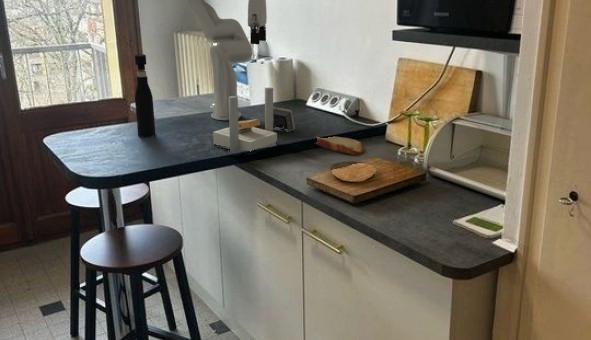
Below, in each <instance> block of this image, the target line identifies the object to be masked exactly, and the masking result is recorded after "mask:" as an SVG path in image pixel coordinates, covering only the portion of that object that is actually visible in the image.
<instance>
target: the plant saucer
mask: <svg viewBox="0 0 591 340" xmlns="http://www.w3.org/2000/svg"><path fill="white" fill-rule="evenodd" d="M357 163H364V162H362V161H353V160H352V161H349V160H348V161H347V160H346V161H338V162H335V163H333V164H331V165H330V166H329V168H328V169H329V172H330V171H331V170H333V169H337V168H342V167H346V166H349V165H352V164H357Z"/></svg>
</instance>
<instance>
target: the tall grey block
mask: <svg viewBox="0 0 591 340" xmlns="http://www.w3.org/2000/svg"><path fill="white" fill-rule="evenodd" d="M273 107H274V88H273V87H270V86H269V87H265V88H264V130H267V131H271V132H274V130H273Z"/></svg>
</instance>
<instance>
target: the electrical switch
mask: <svg viewBox="0 0 591 340" xmlns="http://www.w3.org/2000/svg"><path fill="white" fill-rule="evenodd" d="M293 114H294V113H293V111H292V110H291V109H287V108H282V107H277V106H273V128H275V127H279V128H283V127H284V129H288V131H289V130H291V129H295V130H296V125H295V120H294V115H293Z"/></svg>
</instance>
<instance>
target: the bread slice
mask: <svg viewBox="0 0 591 340" xmlns="http://www.w3.org/2000/svg"><path fill="white" fill-rule="evenodd" d="M317 136H318V135H316V136H315V137H317ZM332 136H333V135H332ZM315 145H317V146H319V147H322V148H325V149H327V150H330V151H333V152H336V153H340V154H345V155H349V156H361V155H364V153H365V149H364V145H363V143H362V142H361V141H359V140H357V139H354V138H353V139H352V138H349V137H340V136H333V137H328V138H320V137H317V142H316V143H315Z"/></svg>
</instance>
